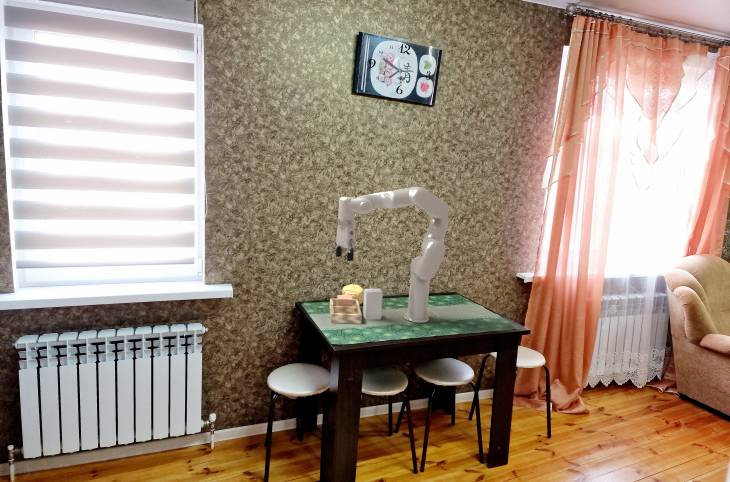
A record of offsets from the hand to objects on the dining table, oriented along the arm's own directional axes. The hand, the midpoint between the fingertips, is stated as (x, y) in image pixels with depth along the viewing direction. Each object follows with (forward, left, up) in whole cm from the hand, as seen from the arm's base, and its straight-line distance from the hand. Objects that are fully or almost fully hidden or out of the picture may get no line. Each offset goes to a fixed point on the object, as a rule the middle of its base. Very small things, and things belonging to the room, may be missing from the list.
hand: (344, 258), depth 224 cm
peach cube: (-2, -7, -28) cm, 29 cm away
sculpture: (-8, -21, -29) cm, 37 cm away
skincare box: (-15, +2, -29) cm, 33 cm away
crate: (-2, -1, -29) cm, 29 cm away
